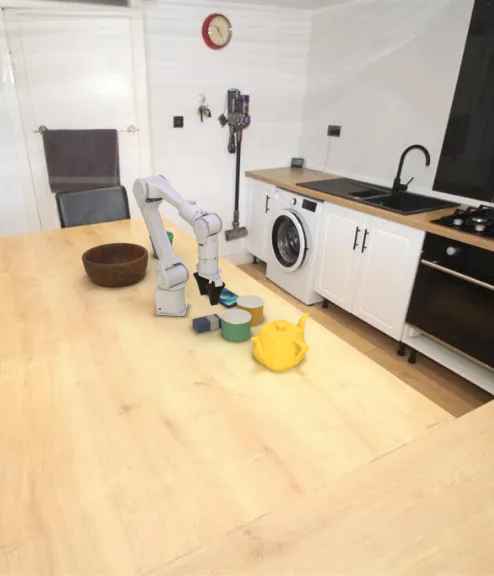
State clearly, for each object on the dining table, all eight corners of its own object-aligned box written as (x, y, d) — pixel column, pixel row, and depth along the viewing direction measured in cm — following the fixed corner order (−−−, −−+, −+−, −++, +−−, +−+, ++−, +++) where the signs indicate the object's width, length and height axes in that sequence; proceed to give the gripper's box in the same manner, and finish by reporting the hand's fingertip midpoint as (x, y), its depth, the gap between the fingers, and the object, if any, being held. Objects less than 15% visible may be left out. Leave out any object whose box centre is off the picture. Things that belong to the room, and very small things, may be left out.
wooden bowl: (71, 284, 155) (67, 259, 151) (109, 262, 176) (106, 239, 172) (127, 295, 147) (125, 269, 142) (160, 270, 168) (159, 246, 163)
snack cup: (149, 251, 189) (147, 229, 184) (171, 249, 191) (170, 228, 186) (152, 263, 175) (151, 240, 171) (176, 261, 177) (176, 238, 173)
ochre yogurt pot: (235, 324, 128) (235, 306, 125) (236, 311, 136) (236, 294, 133) (263, 325, 127) (264, 308, 125) (262, 312, 135) (263, 295, 133)
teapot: (274, 390, 100) (277, 353, 95) (232, 360, 111) (233, 326, 106) (330, 358, 112) (336, 324, 107) (288, 334, 123) (291, 302, 118)
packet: (197, 333, 123) (197, 324, 122) (192, 327, 127) (192, 318, 125) (221, 327, 126) (221, 319, 125) (216, 321, 130) (216, 313, 128)
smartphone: (220, 285, 152) (245, 300, 141) (220, 287, 153) (245, 302, 141) (203, 290, 149) (227, 306, 137) (203, 292, 149) (227, 308, 137)
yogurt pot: (220, 341, 120) (220, 322, 117) (222, 325, 127) (222, 308, 125) (250, 342, 119) (251, 324, 116) (250, 327, 127) (251, 309, 124)
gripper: (232, 262, 112) (231, 306, 118) (210, 247, 124) (211, 288, 130) (208, 266, 110) (209, 311, 115) (189, 250, 122) (190, 292, 127)
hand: (209, 299), depth 122 cm, fingers open, 7 cm apart
